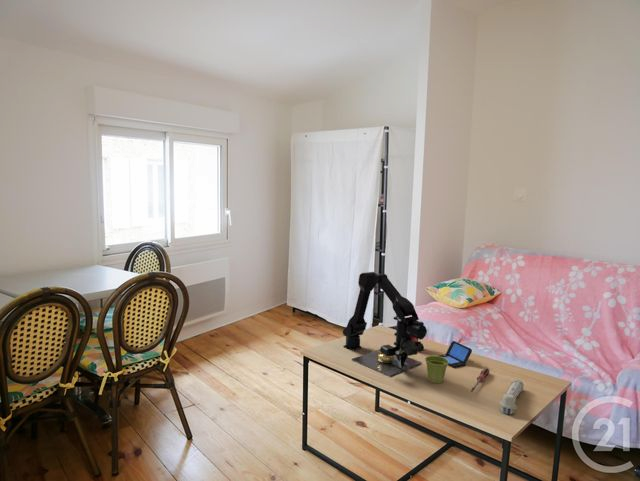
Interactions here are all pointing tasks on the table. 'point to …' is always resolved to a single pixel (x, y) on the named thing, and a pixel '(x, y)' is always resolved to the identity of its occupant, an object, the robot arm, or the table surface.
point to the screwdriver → (481, 377)
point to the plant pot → (436, 368)
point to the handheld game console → (457, 355)
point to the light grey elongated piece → (511, 397)
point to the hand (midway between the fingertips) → (401, 367)
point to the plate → (384, 368)
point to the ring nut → (391, 360)
